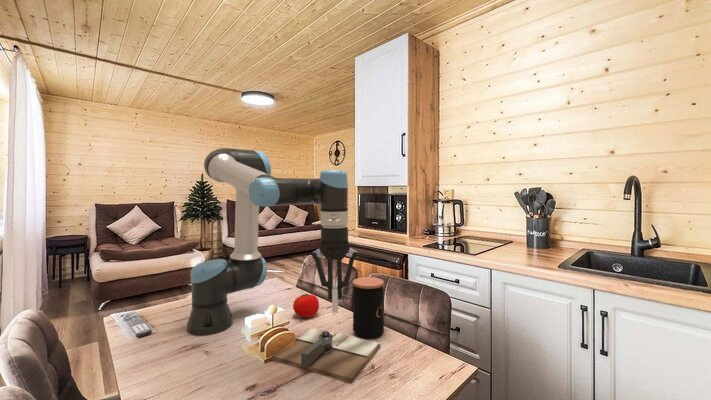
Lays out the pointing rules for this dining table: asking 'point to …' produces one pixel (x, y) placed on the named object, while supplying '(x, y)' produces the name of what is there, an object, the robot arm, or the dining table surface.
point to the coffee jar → (368, 307)
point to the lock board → (331, 355)
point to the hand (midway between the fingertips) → (335, 310)
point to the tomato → (306, 305)
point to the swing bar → (317, 348)
